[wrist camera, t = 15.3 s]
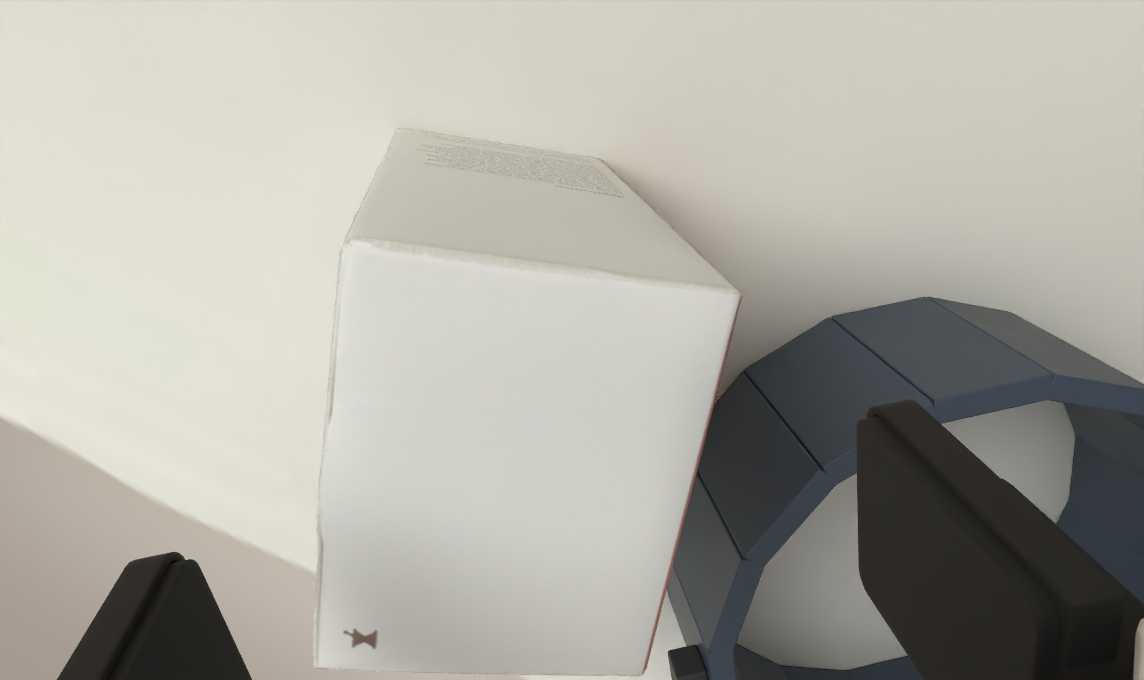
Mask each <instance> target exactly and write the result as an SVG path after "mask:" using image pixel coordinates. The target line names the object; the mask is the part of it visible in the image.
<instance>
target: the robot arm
mask: <svg viewBox="0 0 1144 680" xmlns="http://www.w3.org/2000/svg"><path fill="white" fill-rule="evenodd" d="M856 441H857V496H858V552H859V572H860V577H861V580H862V583H863V586H864V588H865V590H866V592H867V594H868V596H869V597H870V599H871V600H872V602H873V603H874V605H875V606H876V608H877V609H878V611H879V612H880V614H881V615H882V617H883V618H884V620H885V621H886V623H887V624H888V626H889V627H890V629H891V630H892V632H893V633H894V635H895V636H896V638H897V639H898V641H899V643H900V644H901V646H902V647H903V649H904V650H905V652H906V653H907V655H908V656H909V658H910V659H911V661H912V662H913V664H914V665H915V667H916V668H917V670H918V671H919V673H920V674H921V676H922V677H923V679H924V680H1144V604H1143V603H1142V602H1141V601H1140V600H1139V599H1138V598H1136V597H1135V596H1134V595H1133V594H1132V593H1131V592H1130V591H1129V590H1128V589H1126V588H1125V587H1124V586H1123V585H1122V584H1121V583H1120V582H1119V581H1118V580H1117V579H1115V578H1114V577H1113V576H1112V575H1111V574H1110V573H1109V572H1108V571H1107V570H1105V569H1104V568H1103V567H1102V566H1101V565H1100V564H1099V563H1098V562H1097V561H1096V560H1094V559H1093V558H1092V557H1091V556H1090V555H1089V554H1088V553H1087V552H1086V551H1085V550H1083V549H1082V548H1081V547H1080V546H1079V545H1078V544H1077V543H1076V542H1075V541H1073V540H1072V539H1071V538H1070V537H1069V536H1068V535H1067V534H1066V533H1065V532H1064V531H1062V530H1061V529H1060V528H1059V527H1058V526H1057V525H1056V524H1055V523H1054V522H1052V521H1051V520H1050V519H1049V518H1048V517H1047V516H1046V515H1045V514H1044V513H1043V512H1041V511H1040V510H1039V509H1038V508H1037V507H1036V506H1035V505H1034V504H1033V503H1032V502H1030V501H1029V500H1028V499H1027V498H1026V497H1025V496H1024V495H1023V494H1022V493H1020V492H1019V491H1018V490H1017V489H1016V488H1015V487H1014V486H1013V485H1011V484H1010V483H1008V482H1007V481H1005V480H1004V479H1001V478H999V477H998V476H997V475H996V474H995V473H994V472H993V471H992V470H990V469H989V468H988V467H987V466H986V465H985V464H984V463H983V462H982V461H981V460H980V459H978V458H977V457H976V456H975V455H974V454H973V453H972V452H971V451H970V450H969V449H967V448H966V447H965V446H964V445H963V444H962V443H961V442H960V441H959V440H958V439H957V438H955V437H954V436H953V435H952V434H951V433H950V432H949V431H948V430H947V429H946V428H944V427H943V426H942V425H941V424H940V423H939V422H938V421H937V420H936V419H935V418H934V417H932V416H931V415H930V414H929V413H928V412H927V411H926V410H925V409H924V408H923V407H921V406H920V405H919V404H918V403H917V402H916V401H914V400H912V399H907V400H902V401H897V402H892V403H887V404H883V405H878V406H873V407H871V408H870V409H869V410H868V413H867V418H866V419H861V420H859V421H858V423H857V428H856ZM57 680H252V679H251V676H250V674H249V672H248V670H247V668H246V666H245V664H244V662H243V659H242V657H241V655H240V653H239V651H238V649H237V646H236V644H235V642H234V640H233V638H232V635H231V633H230V631H229V629H228V627H227V625H226V622H225V620H224V618H223V616H222V614H221V612H220V610H219V607H218V605H217V603H216V601H215V599H214V597H213V595H212V592H211V590H210V588H209V586H208V584H207V582H206V579H205V577H204V575H203V573H202V571H201V569H200V567H199V565H198V564H197V562H195V561H194V560H191V559H189V560H185V559H184V557H183V556H182V555H181V554H180V553H177V552H171V553H166V554H161V555H156V556H151V557H147V558H142V559H137V560H134V561H132V562H129V564H128V565H127V566H126V567H125V568H124V570H123V572H122V573H121V575H120V577H119V579H118V580H117V582H116V583H115V585H114V587H113V588H112V590H111V592H110V593H109V595H108V596H107V598H106V600H105V602H104V603H103V605H102V606H101V608H100V610H99V611H98V613H97V615H96V616H95V618H94V620H93V621H92V623H91V624H90V626H89V628H88V629H87V631H86V633H85V634H84V636H83V638H82V639H81V641H80V643H79V644H78V646H77V648H76V649H75V651H74V653H73V654H72V656H71V658H70V659H69V661H68V662H67V664H66V666H65V667H64V669H63V671H62V672H61V674H60V676H59V677H58V679H57Z"/></svg>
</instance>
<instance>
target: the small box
mask: <svg viewBox="0 0 1144 680" xmlns="http://www.w3.org/2000/svg"><path fill="white" fill-rule="evenodd" d="M741 299H742V295H741V293H740V292H739V291H738V290H737V289H736V287H734V286H733V285H732V284H731V283H730V282H729V281H728V280H727V279H726V278H725V277H724V276H723V275H722V274H721V273H720V272H719V271H718V270H716V269H715V268H714V267H713V266H712V265H711V264H710V263H709V262H708V261H707V260H706V259H705V258H704V257H703V256H702V255H701V254H700V253H699V252H698V251H697V250H696V249H695V248H694V247H692V246H691V245H690V244H689V243H688V242H687V241H686V240H685V239H684V238H683V237H682V236H681V235H680V234H679V233H678V232H677V231H675V230H674V229H673V228H672V227H671V226H670V225H669V224H668V223H667V222H666V221H665V220H664V219H663V218H662V217H661V216H660V215H658V214H657V213H656V212H655V211H654V210H653V209H652V208H651V207H650V206H649V205H648V204H647V203H646V202H645V201H644V200H643V199H642V198H641V197H640V196H639V195H638V194H637V193H635V192H634V191H633V190H632V189H631V188H630V187H629V186H628V185H627V184H626V183H625V182H624V181H623V180H622V179H620V178H619V177H618V176H617V175H616V174H615V173H614V172H613V171H612V170H611V169H610V168H609V167H608V166H607V165H606V164H605V163H604V162H603V161H601V160H600V159H598V158H593V157H586V156H579V155H573V154H566V153H560V152H553V151H547V150H541V149H534V148H528V147H521V146H515V145H509V144H502V143H496V142H490V141H483V140H477V139H470V138H464V137H458V136H451V135H445V134H438V133H432V132H426V131H419V130H413V129H406V128H399V129H397V130H396V131H395V133H394V136H393V138H392V140H391V143H390V145H389V147H388V149H387V152H386V154H385V156H384V158H383V160H382V162H381V164H380V165H379V167H378V169H377V171H376V173H375V176H374V178H373V180H372V182H371V184H370V186H369V189H368V191H367V193H366V195H365V197H364V199H363V201H362V203H361V206H360V208H359V210H358V211H357V213H356V215H355V217H354V219H353V222H352V224H351V226H350V229H349V231H348V233H347V235H346V237H345V239H344V241H343V243H342V246H341V250H340V255H339V264H338V274H337V286H336V297H335V309H334V321H333V333H332V345H331V357H330V370H329V382H328V393H327V404H326V415H325V427H324V439H323V449H322V458H321V467H320V478H319V495H318V510H317V538H318V561H317V579H316V598H315V617H314V646H313V665H314V667H316V668H317V669H344V670H345V669H346V670H363V671H381V672H412V673H453V674H454V673H455V674H514V675H569V676H605V675H618V676H641V675H642V674H643V673H644V671H645V670H646V667H647V663H648V660H649V656H650V652H651V648H652V644H653V640H654V636H655V632H656V628H657V624H658V620H659V616H660V612H661V608H662V604H663V600H664V597H665V593H666V589H667V585H668V582H669V578H670V574H671V570H672V566H673V562H674V558H675V555H676V551H677V547H678V543H679V539H680V535H681V530H682V526H683V522H684V518H685V515H686V512H687V508H688V504H689V501H690V497H691V492H692V488H693V484H694V480H695V476H696V473H697V469H698V466H699V462H700V458H701V454H702V451H703V447H704V443H705V439H706V434H707V429H708V425H709V422H710V418H711V415H712V411H713V407H714V403H715V399H716V395H717V391H718V387H719V383H720V379H721V375H722V371H723V368H724V364H725V360H726V356H727V352H728V348H729V344H730V340H731V336H732V332H733V328H734V324H735V320H736V316H737V312H738V308H739V305H740V302H741Z"/></svg>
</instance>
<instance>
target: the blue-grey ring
mask: <svg viewBox="0 0 1144 680" xmlns="http://www.w3.org/2000/svg"><path fill="white" fill-rule="evenodd" d="M831 319H832V320H831ZM831 319H830V318H827V319H826V320H824V321H822V322H821V323H819V324H818V325H816V326H814V327H813V328H811V329H809V330H808V331H806V332H805V333H803V334H801V335H800V336H798V337H796V338H795V339H793V340H792V341H790V342H788V343H787V344H785V345H784V346H782V347H780V348H779V349H777V350H775V351H774V352H772V353H771V354H769V355H767V356H766V357H764V358H762V359H761V360H759V361H758V362H756V363H754V364H753V365H751V366H749V367H748V368H746V369H745V372H746V373H745V372H742V373H741V374H740V375H739V377H738V378H737V379H736V380H735V382H734V383H733V384H732V385H731V386H730V388H729V389H728V390H727V391H726V393H725V394H724V395H723V396H722V398H721V399H720V400H719V401H718V403H717V404H716V405H715V406H714V407H713V411H712V415H711V418H710V422H709V425H708V429H707V434H706V439H705V443H704V447H703V451H702V454H701V458H700V462H699V466H698V469H697V473H696V476H695V480H694V484H693V488H692V492H691V497H690V501H689V504H688V508H687V512H686V515H685V518H684V522H683V526H682V530H681V535H680V539H679V543H678V547H677V551H676V555H675V558H674V562H673V566H672V570H671V574H670V578H669V582H668V585H667V590H668V596H669V599H670V602H671V604H672V607H673V610H674V613H675V615H676V618H677V621H678V624H679V626H680V629H681V632H682V635H683V637H684V640H685V643H686V647H682V648H678V649H674V650H670V651H668V657H669V664H670V670H671V676H672V680H924V679H923V677H922V676H921V674H920V673H919V671H918V670H917V668H916V667H915V665H914V664H913V662H912V661H911V659H910V658H909V656H907V657H903V658H899V659H895V660H891V661H887V662H882V663H878V664H874V665H870V666H866V667H862V668H857V669H853V670H849V671H838V670H825V669H812V668H799V667H785V666H779V665H777V664H775V663H773V662H771V661H769V660H767V659H765V658H763V657H761V656H759V655H757V654H755V653H753V652H751V651H749V650H747V649H745V648H743V647H741V646H739V645H737V644H735V643H736V641H737V638H738V636H739V633H740V630H741V628H742V625H743V622H744V620H745V617H746V614H747V612H748V609H749V606H750V604H751V601H752V598H753V596H754V593H755V590H756V588H757V585H758V582H759V580H760V577H761V574H762V572H763V569H764V566H765V565H766V563H767V562H768V561H769V560H770V559H771V558H772V557H773V556H774V554H775V553H776V552H777V551H778V550H779V549H780V548H781V547H782V545H783V544H784V543H785V542H786V541H787V540H788V539H789V538H790V536H791V535H792V534H793V533H794V532H795V531H796V530H797V528H798V527H799V526H800V525H801V524H802V523H803V522H804V521H805V519H806V518H807V517H808V516H809V515H810V514H811V513H812V512H813V510H814V509H815V508H816V507H817V506H818V505H819V504H820V503H821V501H822V500H823V499H824V498H825V497H826V496H827V495H828V494H829V492H830V491H831V490H832V489H833V488H834V487H835V486H836V485H837V484H838V483H840V482H842V481H843V480H845V479H847V478H849V477H850V476H852V475H854V474H855V473H857V441H856V428H857V423H858V421H859V420H861V419H866V418H867V413H868V410H869V409H870V408H871V407H873V406H878V405H883V404H887V403H892V402H897V401H902V400H907V399H912V400H914V401H916V402H917V403H918V404H919V405H920V406H921V407H923V408H924V409H925V410H926V411H927V412H928V413H929V414H930V415H931V416H932V417H934V418H935V419H936V420H937V421H938V422H939V423H940V424H941V423H945V422H950V421H954V420H959V419H963V418H968V417H972V416H977V415H981V414H986V413H990V412H995V411H999V410H1004V409H1008V408H1013V407H1017V406H1022V405H1026V404H1031V403H1035V402H1040V401H1044V400H1051V401H1057V402H1063V403H1064V404H1065V407H1066V410H1067V412H1068V415H1069V417H1070V420H1071V422H1072V425H1073V427H1074V430H1075V433H1076V443H1075V453H1074V462H1073V472H1072V481H1071V490H1070V500H1069V502H1068V504H1067V506H1066V507H1065V509H1064V511H1063V513H1062V515H1061V517H1060V519H1059V521H1058V523H1057V526H1058V527H1059V528H1060V529H1061V530H1062V531H1064V532H1065V533H1066V534H1067V535H1068V536H1069V537H1070V538H1071V539H1072V540H1073V541H1075V542H1076V543H1077V544H1078V545H1079V546H1080V547H1081V548H1082V549H1083V550H1085V551H1086V552H1087V553H1088V554H1089V555H1090V556H1091V557H1092V558H1093V559H1094V560H1096V561H1097V562H1098V563H1099V564H1100V565H1101V566H1102V567H1103V568H1104V569H1105V570H1107V571H1108V572H1109V573H1110V574H1111V575H1112V576H1113V577H1114V578H1115V579H1117V580H1118V581H1119V582H1120V583H1121V584H1122V585H1123V586H1124V587H1125V588H1126V589H1128V590H1129V591H1130V592H1131V593H1132V594H1133V595H1134V596H1135V597H1136V598H1138V599H1139V600H1140V601H1141V602H1142V603H1143V604H1144V384H1142V383H1140V382H1138V381H1137V380H1135V379H1133V378H1131V377H1129V376H1127V375H1125V374H1124V373H1122V372H1120V371H1118V370H1116V369H1114V368H1113V367H1111V366H1109V365H1107V364H1105V363H1103V362H1101V361H1100V360H1098V359H1096V358H1094V357H1092V356H1090V355H1089V354H1087V353H1085V352H1083V351H1081V350H1079V349H1078V348H1076V347H1074V346H1072V345H1070V344H1068V343H1066V342H1065V341H1063V340H1061V339H1059V338H1057V337H1055V336H1054V335H1052V334H1050V333H1048V332H1046V331H1044V330H1042V329H1041V328H1039V327H1037V326H1035V325H1033V324H1031V323H1030V322H1028V321H1026V320H1024V319H1022V318H1020V317H1018V316H1017V315H1015V314H1012V313H1010V312H1006V311H1001V310H996V309H990V308H985V307H980V306H974V305H969V304H964V303H959V302H953V301H948V300H943V299H938V298H932V297H927V298H926V297H922V298H917V299H912V300H908V301H903V302H898V303H893V304H889V305H884V306H879V307H875V308H870V309H865V310H861V311H856V312H851V313H847V314H842V315H837V316H833V317H832V318H831Z"/></svg>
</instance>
